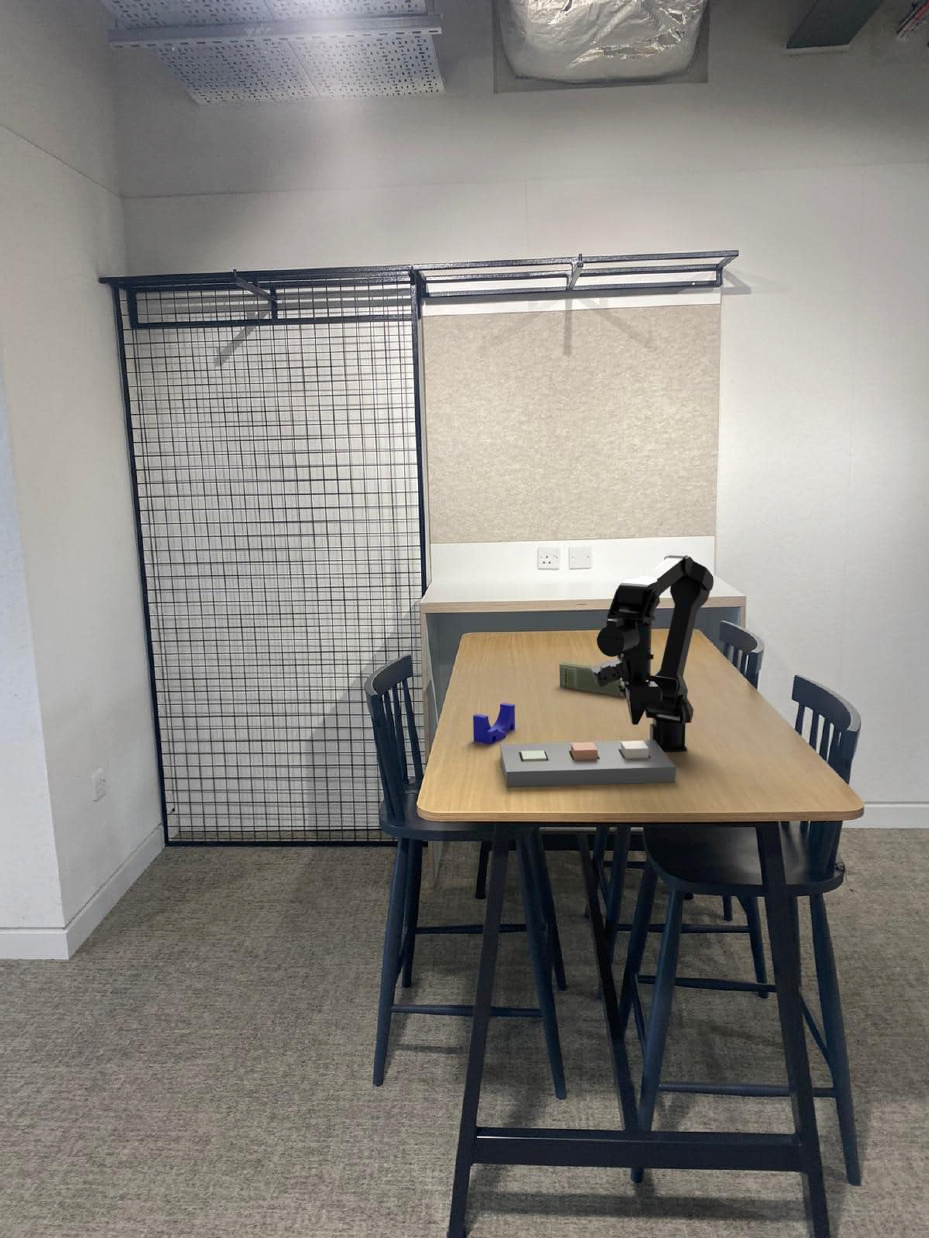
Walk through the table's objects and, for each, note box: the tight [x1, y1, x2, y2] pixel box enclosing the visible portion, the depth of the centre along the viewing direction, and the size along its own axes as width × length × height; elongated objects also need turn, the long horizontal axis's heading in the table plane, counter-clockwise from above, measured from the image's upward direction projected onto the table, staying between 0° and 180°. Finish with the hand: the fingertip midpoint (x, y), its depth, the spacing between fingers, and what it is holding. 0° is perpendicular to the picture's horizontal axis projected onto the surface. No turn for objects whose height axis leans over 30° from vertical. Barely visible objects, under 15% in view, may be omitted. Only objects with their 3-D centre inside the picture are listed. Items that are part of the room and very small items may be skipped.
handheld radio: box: [559, 661, 624, 697], centre depth 226 cm, size 7×3×25 cm
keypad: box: [499, 739, 677, 788], centre depth 170 cm, size 32×16×3 cm, turn 92°
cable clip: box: [472, 702, 516, 745], centre depth 192 cm, size 12×4×6 cm, turn 143°
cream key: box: [621, 740, 649, 759], centre depth 170 cm, size 4×4×2 cm
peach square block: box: [571, 741, 598, 760], centre depth 170 cm, size 4×4×2 cm
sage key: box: [521, 751, 546, 762], centre depth 170 cm, size 4×4×2 cm
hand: (634, 724), depth 169 cm, fingers closed
